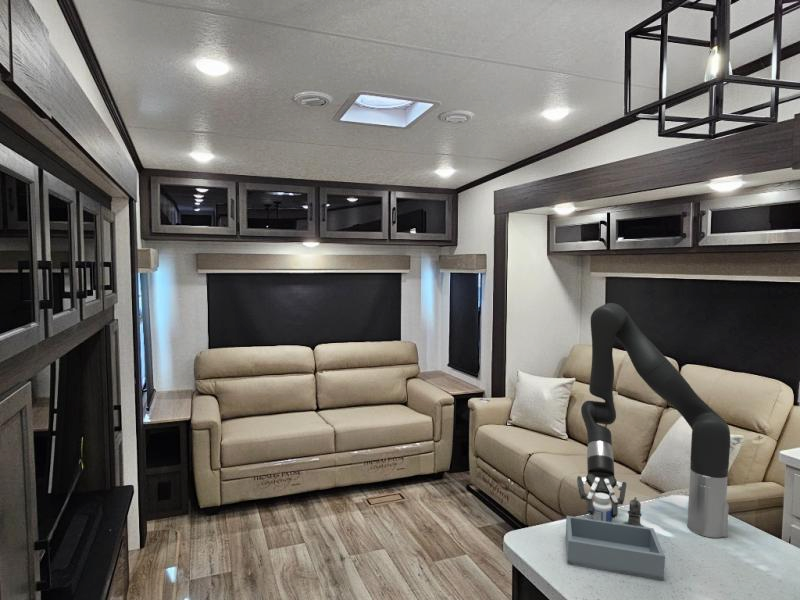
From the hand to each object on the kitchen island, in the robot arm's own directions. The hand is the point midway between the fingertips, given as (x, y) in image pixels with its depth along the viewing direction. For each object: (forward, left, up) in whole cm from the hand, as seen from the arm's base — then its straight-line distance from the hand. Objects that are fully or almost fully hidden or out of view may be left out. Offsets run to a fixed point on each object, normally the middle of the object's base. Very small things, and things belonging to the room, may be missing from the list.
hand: (602, 515), depth 144 cm
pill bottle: (0, -2, -5) cm, 5 cm away
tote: (-1, +13, -5) cm, 14 cm away
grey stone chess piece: (-8, +2, -5) cm, 10 cm away
